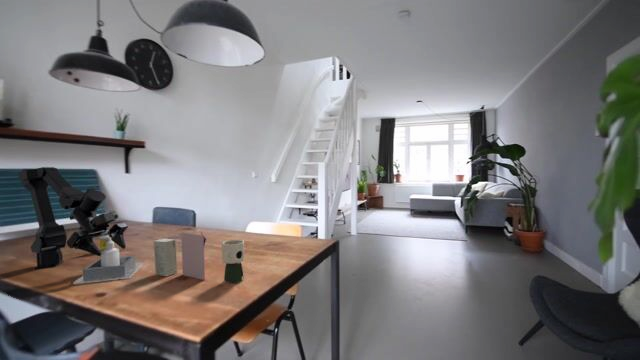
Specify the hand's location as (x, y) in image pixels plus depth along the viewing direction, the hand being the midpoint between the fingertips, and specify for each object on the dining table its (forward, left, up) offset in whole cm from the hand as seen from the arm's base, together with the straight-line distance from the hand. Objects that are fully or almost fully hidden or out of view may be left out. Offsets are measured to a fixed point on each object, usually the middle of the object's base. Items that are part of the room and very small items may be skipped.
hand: (113, 251), depth 102 cm
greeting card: (+28, -12, -8) cm, 32 cm away
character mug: (+41, -21, -8) cm, 47 cm away
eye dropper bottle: (-1, +1, -8) cm, 8 cm away
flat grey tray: (-1, +1, -8) cm, 8 cm away
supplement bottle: (-14, +36, -8) cm, 39 cm away
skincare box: (+18, -6, -8) cm, 21 cm away
